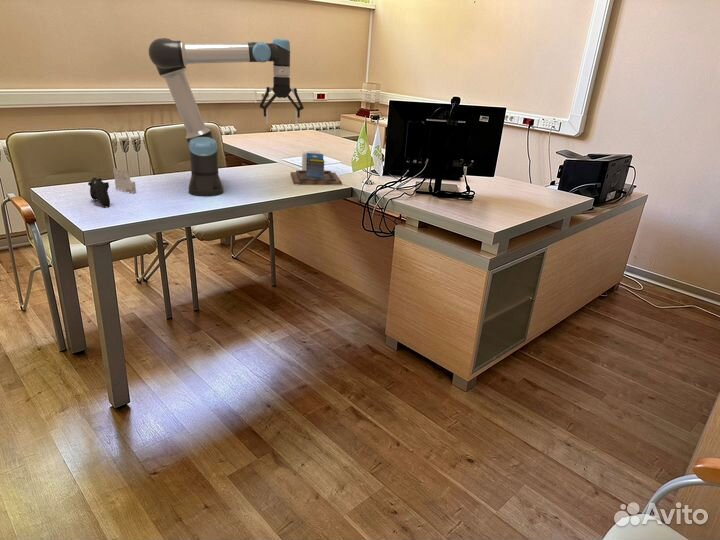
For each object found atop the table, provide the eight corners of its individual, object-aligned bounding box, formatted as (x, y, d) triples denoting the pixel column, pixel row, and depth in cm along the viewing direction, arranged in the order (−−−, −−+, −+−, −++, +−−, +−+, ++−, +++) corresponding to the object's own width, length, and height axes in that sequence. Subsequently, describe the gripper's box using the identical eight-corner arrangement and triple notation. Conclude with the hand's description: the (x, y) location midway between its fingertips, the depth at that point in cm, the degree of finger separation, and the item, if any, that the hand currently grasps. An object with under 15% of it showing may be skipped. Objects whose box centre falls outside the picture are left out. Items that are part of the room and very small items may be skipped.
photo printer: (319, 171, 282) (320, 148, 277) (321, 172, 278) (321, 150, 273) (301, 171, 279) (301, 148, 275) (302, 172, 276) (302, 149, 271)
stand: (294, 184, 251) (294, 179, 250) (290, 174, 269) (290, 169, 268) (341, 184, 256) (341, 179, 255) (334, 175, 275) (335, 170, 274)
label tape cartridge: (324, 176, 263) (325, 152, 259) (323, 178, 260) (323, 154, 255) (307, 175, 264) (307, 151, 259) (306, 177, 261) (306, 152, 256)
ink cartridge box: (120, 188, 226) (117, 166, 222) (136, 193, 221) (134, 170, 217) (115, 189, 224) (112, 167, 220) (131, 194, 219) (129, 171, 215)
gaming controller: (86, 200, 207) (82, 176, 203) (101, 198, 211) (98, 174, 207) (98, 208, 198) (95, 183, 194) (114, 206, 202) (111, 181, 198)
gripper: (253, 75, 224) (254, 124, 232) (310, 78, 229) (309, 126, 238) (253, 74, 231) (254, 122, 239) (308, 77, 236) (307, 124, 245)
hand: (281, 124), depth 239 cm, fingers open, 13 cm apart
